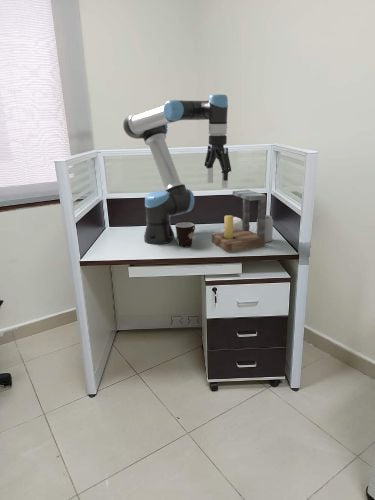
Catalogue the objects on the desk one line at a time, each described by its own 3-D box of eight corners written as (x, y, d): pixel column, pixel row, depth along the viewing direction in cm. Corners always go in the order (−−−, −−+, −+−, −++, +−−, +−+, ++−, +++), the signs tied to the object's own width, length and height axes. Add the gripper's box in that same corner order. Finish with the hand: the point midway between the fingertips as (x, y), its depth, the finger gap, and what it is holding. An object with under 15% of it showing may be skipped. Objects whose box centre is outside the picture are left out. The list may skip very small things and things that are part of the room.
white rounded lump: (226, 233, 173) (250, 235, 174) (228, 215, 173) (252, 217, 173) (224, 234, 182) (246, 236, 182) (225, 216, 182) (248, 218, 182)
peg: (222, 244, 163) (222, 215, 158) (230, 243, 165) (230, 214, 160) (226, 247, 160) (226, 217, 155) (234, 246, 161) (234, 216, 156)
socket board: (211, 242, 167) (211, 193, 159) (246, 236, 174) (247, 189, 166) (227, 252, 153) (227, 199, 145) (264, 246, 160) (266, 195, 152)
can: (272, 243, 163) (273, 218, 159) (256, 242, 165) (256, 218, 161) (271, 238, 170) (273, 214, 166) (256, 237, 171) (257, 214, 167)
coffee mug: (181, 249, 159) (180, 228, 156) (173, 244, 167) (172, 224, 163) (203, 244, 164) (202, 224, 161) (194, 240, 172) (193, 220, 168)
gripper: (241, 135, 137) (238, 189, 144) (212, 133, 158) (211, 180, 166) (224, 136, 134) (222, 191, 142) (197, 133, 155) (197, 181, 163)
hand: (216, 185), depth 154 cm, fingers open, 13 cm apart
